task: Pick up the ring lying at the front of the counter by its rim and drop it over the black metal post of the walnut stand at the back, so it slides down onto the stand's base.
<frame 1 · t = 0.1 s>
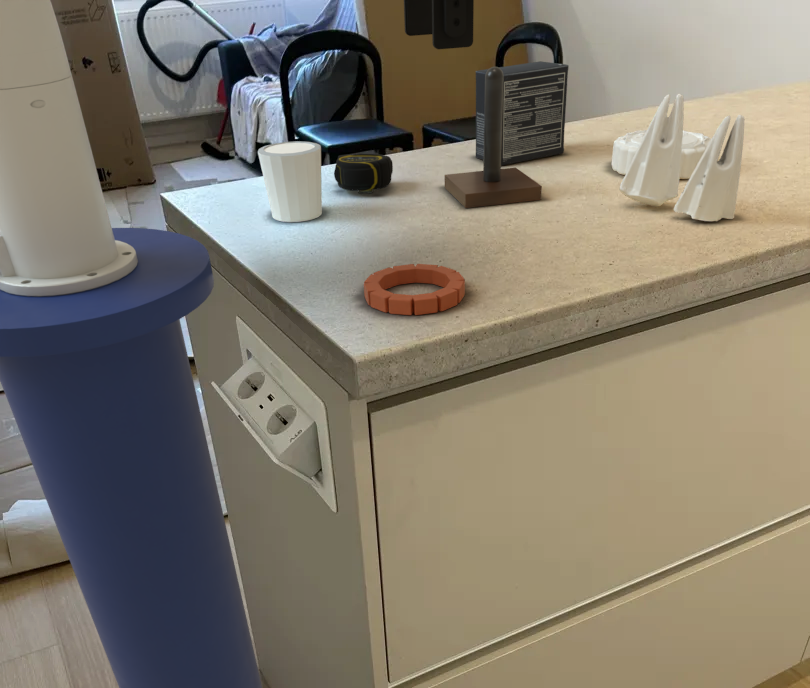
hand: (437, 40, 67), 18 cm above the countertop, tool pointing down, fingers open, 9 cm apart
stand: (491, 193, 94), on the countertop
mooncake: (659, 170, 100), on the countertop
small box: (518, 157, 108), on the countertop
ring: (414, 295, 70), on the countertop
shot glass: (297, 216, 91), on the countertop
shaker set: (673, 214, 86), on the countertop
tape measure: (362, 190, 98), on the countertop
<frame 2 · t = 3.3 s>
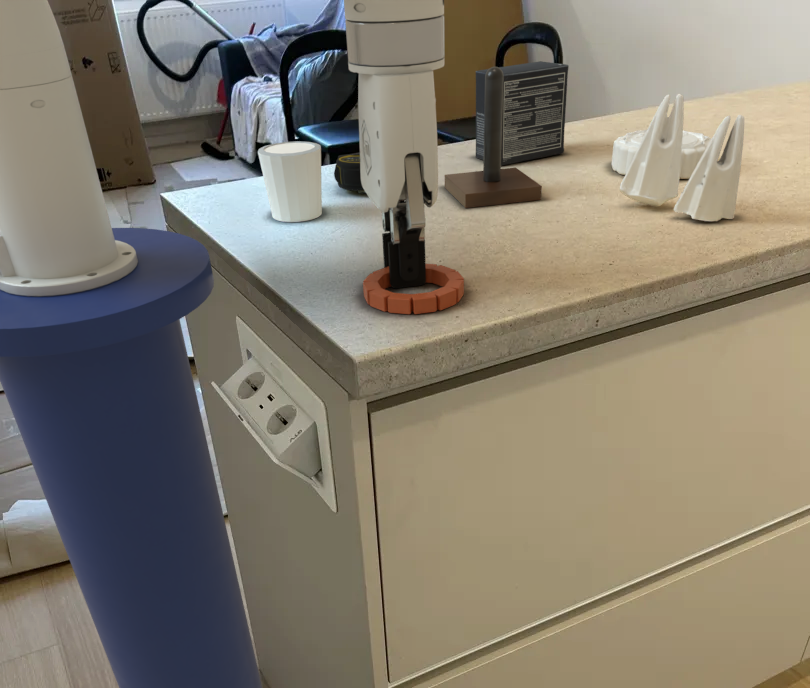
hand: (405, 279, 73), 0 cm above the countertop, tool pointing down, fingers closed on ring, 1 cm apart
ring: (413, 294, 70), on the countertop, touching gripper
everything else where it was.
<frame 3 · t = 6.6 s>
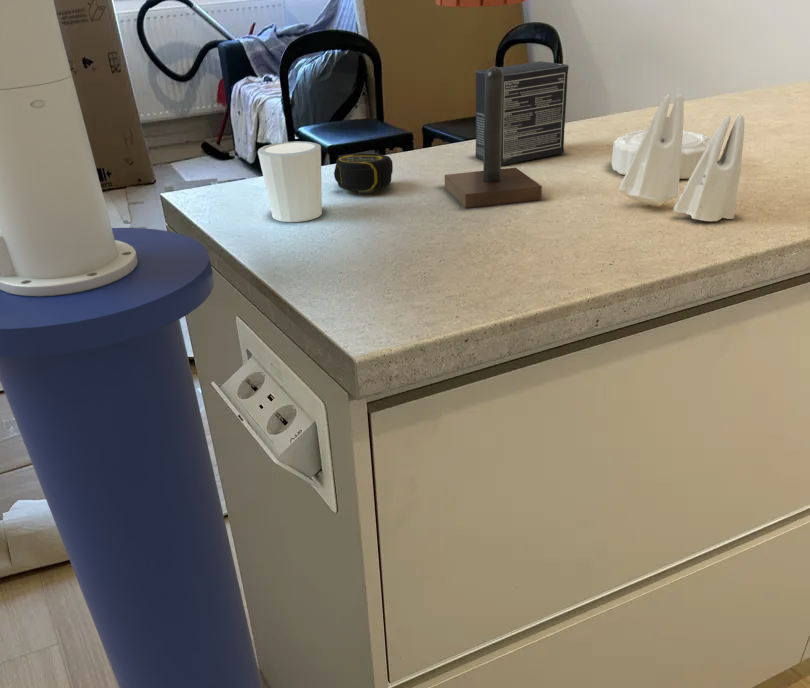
ring: (481, 2, 77), point 19 cm above the countertop, touching gripper
everything else where it was.
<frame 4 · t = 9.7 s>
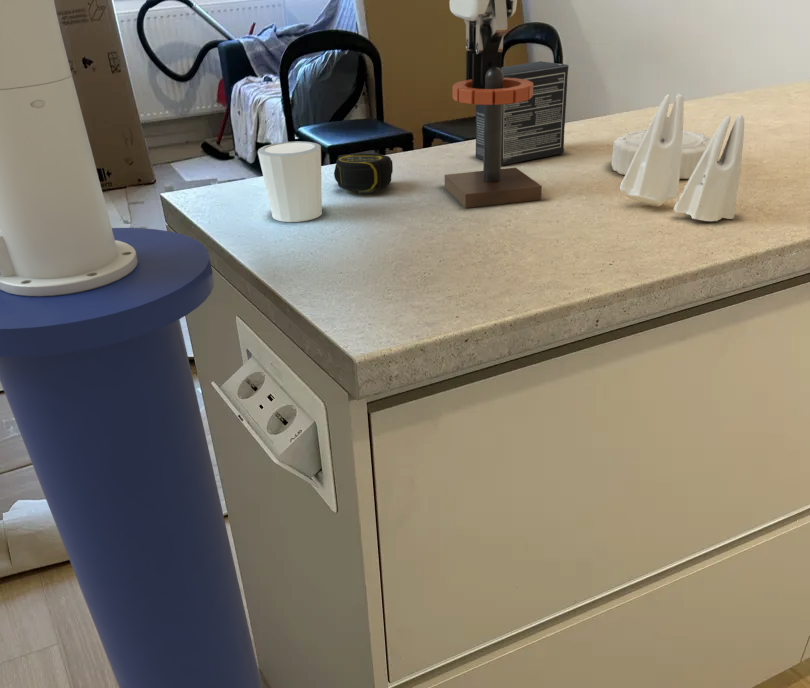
hand: (483, 91, 91), 10 cm above the countertop, tool pointing down, fingers closed on ring
ring: (492, 97, 88), point 10 cm above the countertop, touching gripper
everything else where it was.
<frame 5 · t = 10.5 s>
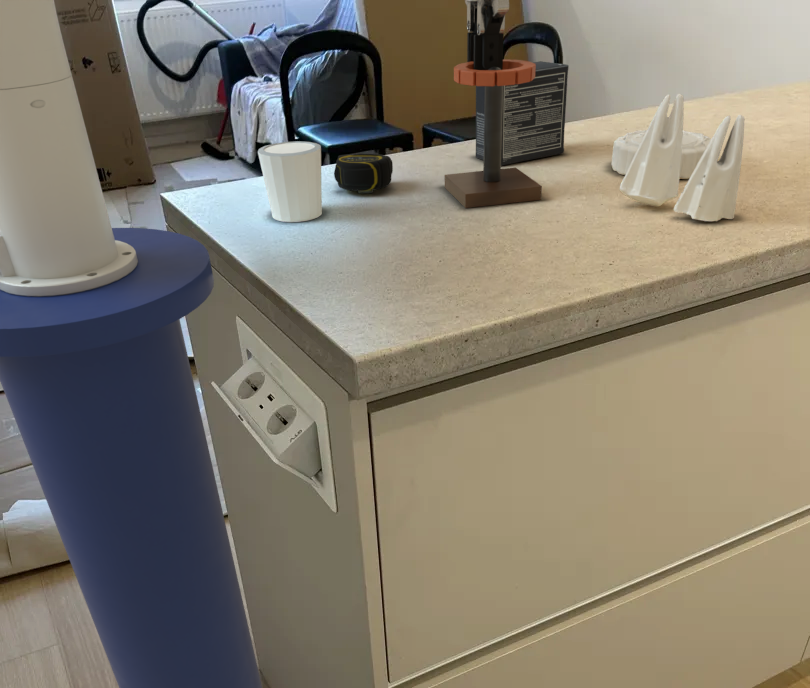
hand: (484, 73, 90), 12 cm above the countertop, tool pointing down, fingers closed on ring
ring: (494, 79, 87), point 12 cm above the countertop, touching gripper
everything else where it was.
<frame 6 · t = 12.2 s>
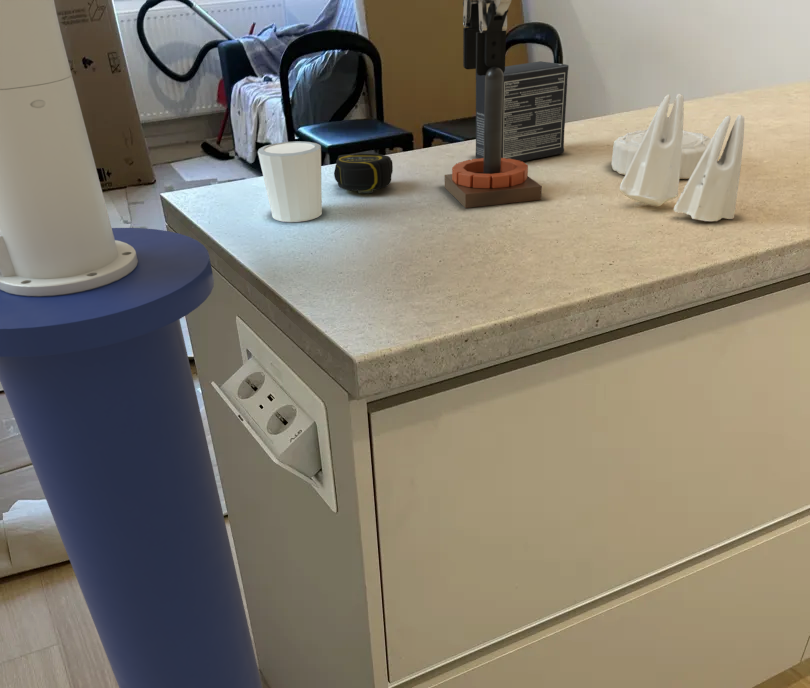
hand: (483, 69, 90), 12 cm above the countertop, tool pointing down, fingers open, 4 cm apart
ring: (489, 178, 94), point 1 cm above the countertop, touching stand
everything else where it was.
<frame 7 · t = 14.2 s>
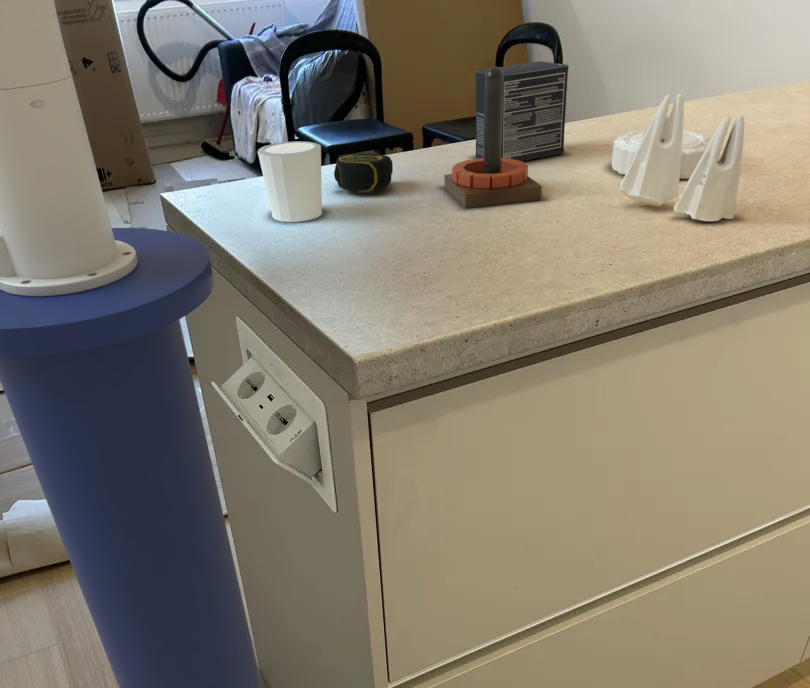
nothing on the countertop moved.
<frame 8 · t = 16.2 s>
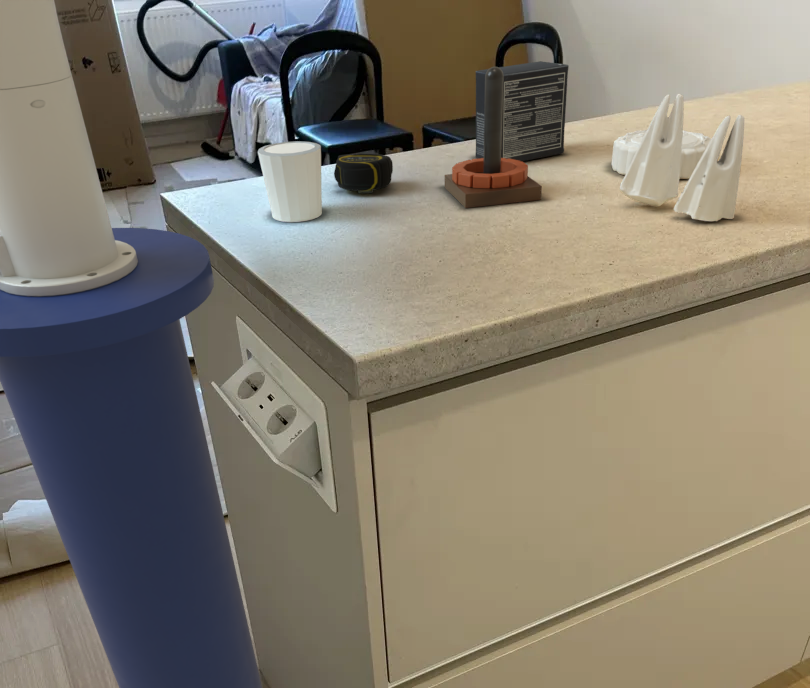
nothing on the countertop moved.
at the end: ring 0.8 cm from the stand (horizontally); ring point 1.5 cm above the countertop; the gripper is holding nothing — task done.
